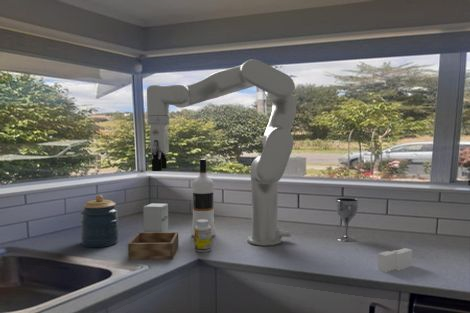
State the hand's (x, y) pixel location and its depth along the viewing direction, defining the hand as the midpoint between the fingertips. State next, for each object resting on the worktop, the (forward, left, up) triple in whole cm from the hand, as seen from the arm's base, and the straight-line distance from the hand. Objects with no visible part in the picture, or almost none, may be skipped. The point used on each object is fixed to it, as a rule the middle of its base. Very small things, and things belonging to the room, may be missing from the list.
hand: (159, 169), depth 135 cm
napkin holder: (-72, +26, -28) cm, 82 cm away
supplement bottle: (-15, +7, -27) cm, 32 cm away
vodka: (-14, -12, -27) cm, 33 cm away
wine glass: (-68, -5, -27) cm, 74 cm away
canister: (+23, -3, -27) cm, 35 cm away
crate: (+1, +9, -27) cm, 28 cm away
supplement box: (+4, -10, -27) cm, 29 cm away
